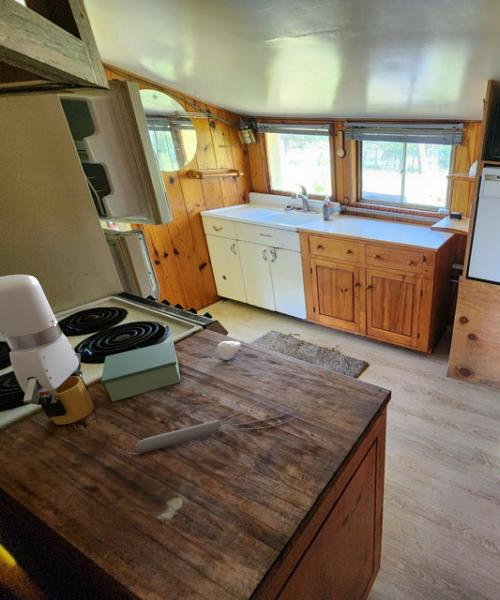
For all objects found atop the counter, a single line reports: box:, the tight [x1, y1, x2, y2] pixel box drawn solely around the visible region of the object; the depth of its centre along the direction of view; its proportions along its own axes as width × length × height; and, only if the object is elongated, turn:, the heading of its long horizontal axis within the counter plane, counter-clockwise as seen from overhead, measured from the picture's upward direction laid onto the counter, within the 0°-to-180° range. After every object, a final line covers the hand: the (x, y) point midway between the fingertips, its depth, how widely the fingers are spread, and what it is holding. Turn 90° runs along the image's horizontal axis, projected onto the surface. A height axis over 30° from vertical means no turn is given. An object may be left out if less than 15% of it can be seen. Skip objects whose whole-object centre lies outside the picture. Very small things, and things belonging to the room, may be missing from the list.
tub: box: [100, 340, 181, 402], centre depth 84 cm, size 15×12×7 cm
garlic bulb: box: [216, 340, 242, 361], centre depth 96 cm, size 6×6×5 cm
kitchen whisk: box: [125, 395, 301, 455], centre depth 70 cm, size 6×34×6 cm, turn 111°
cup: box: [42, 376, 95, 426], centre depth 73 cm, size 7×7×8 cm
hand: (68, 402), depth 73 cm, fingers closed on cup, 6 cm apart
